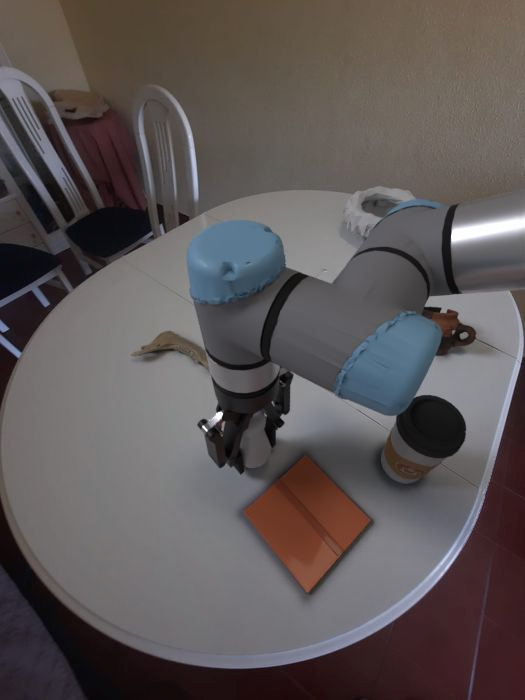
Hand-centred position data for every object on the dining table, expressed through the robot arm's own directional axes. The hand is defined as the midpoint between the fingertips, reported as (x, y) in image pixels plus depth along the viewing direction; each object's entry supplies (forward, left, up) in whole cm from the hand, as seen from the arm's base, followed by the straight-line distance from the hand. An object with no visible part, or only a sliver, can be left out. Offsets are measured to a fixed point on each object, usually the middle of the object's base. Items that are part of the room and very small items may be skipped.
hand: (253, 453), depth 54 cm
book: (-12, 0, -1) cm, 12 cm away
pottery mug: (-6, -45, -2) cm, 45 cm away
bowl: (+27, -69, -2) cm, 74 cm away
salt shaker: (0, 0, -1) cm, 1 cm away
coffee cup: (-17, -17, -2) cm, 24 cm away
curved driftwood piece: (+24, -1, -2) cm, 24 cm away
